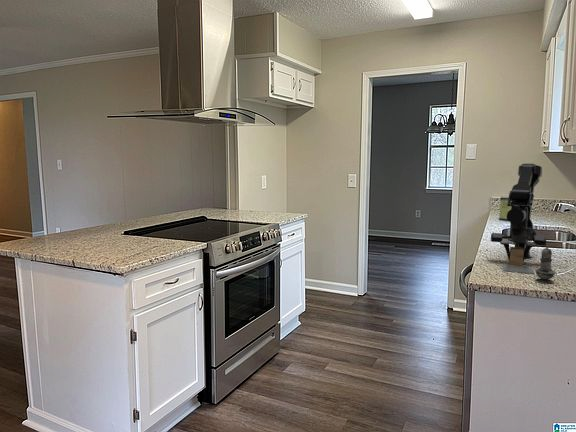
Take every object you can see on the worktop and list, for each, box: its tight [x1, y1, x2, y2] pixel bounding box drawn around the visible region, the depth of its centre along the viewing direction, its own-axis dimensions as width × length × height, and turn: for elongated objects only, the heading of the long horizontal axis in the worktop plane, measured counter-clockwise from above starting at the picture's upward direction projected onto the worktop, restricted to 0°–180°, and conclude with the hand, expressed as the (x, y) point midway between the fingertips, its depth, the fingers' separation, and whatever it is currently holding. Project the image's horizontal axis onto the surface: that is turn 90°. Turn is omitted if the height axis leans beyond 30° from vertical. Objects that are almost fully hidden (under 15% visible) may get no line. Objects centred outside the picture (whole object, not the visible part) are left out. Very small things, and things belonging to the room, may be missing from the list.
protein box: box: [498, 196, 512, 222], centre depth 292 cm, size 10×16×16 cm
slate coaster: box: [501, 264, 536, 275], centre depth 163 cm, size 10×10×1 cm
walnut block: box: [508, 246, 524, 266], centre depth 172 cm, size 4×4×6 cm
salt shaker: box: [534, 245, 556, 285], centre depth 146 cm, size 6×6×12 cm
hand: (515, 260), depth 172 cm, fingers closed on walnut block, 4 cm apart
